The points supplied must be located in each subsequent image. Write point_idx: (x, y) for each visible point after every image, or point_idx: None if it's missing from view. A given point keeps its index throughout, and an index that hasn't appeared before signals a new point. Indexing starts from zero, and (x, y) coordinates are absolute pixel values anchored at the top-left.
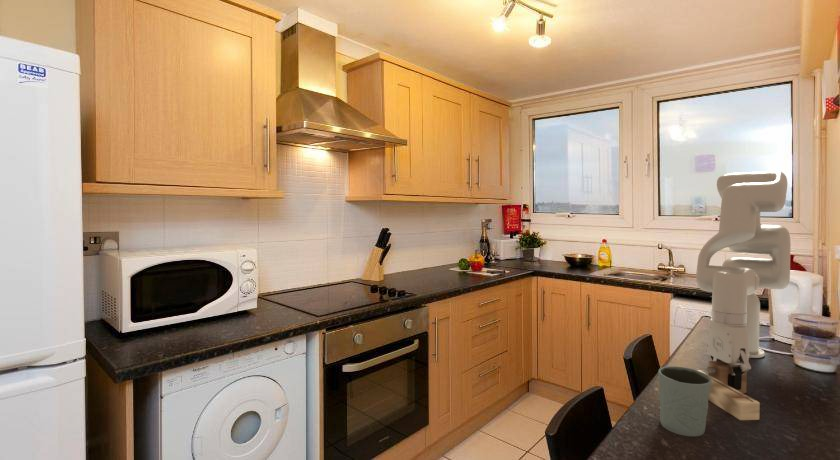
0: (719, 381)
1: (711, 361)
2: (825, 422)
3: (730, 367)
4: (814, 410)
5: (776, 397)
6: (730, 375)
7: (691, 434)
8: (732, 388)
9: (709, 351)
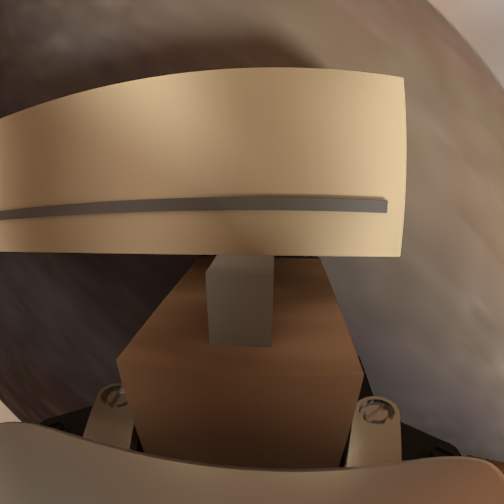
0: (98, 237)
1: (342, 396)
2: (15, 408)
3: (113, 432)
4: None
5: None
6: None
7: None
8: (2, 241)
9: (434, 496)
